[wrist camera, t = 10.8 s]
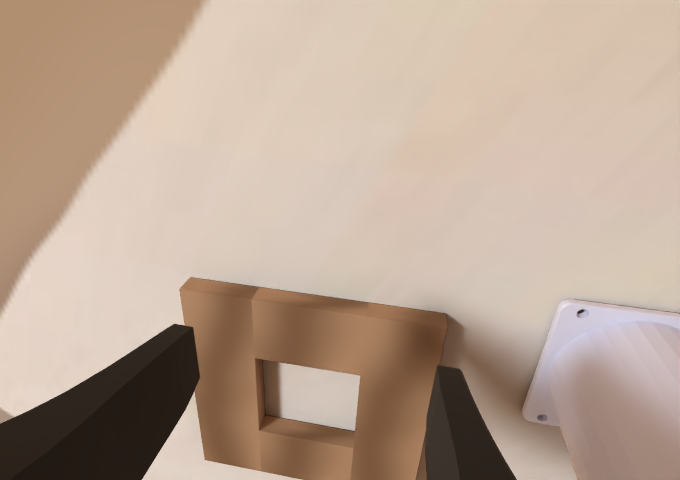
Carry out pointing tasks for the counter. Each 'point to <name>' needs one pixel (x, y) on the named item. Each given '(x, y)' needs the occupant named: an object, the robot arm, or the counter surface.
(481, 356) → the counter surface
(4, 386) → the counter surface
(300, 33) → the counter surface
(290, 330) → the pocket plate
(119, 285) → the counter surface
